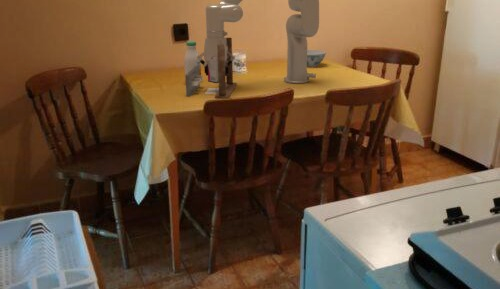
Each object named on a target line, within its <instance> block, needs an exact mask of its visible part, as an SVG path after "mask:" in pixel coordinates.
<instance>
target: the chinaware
mask: <svg viewBox="0 0 500 289" xmlns="http://www.w3.org/2000/svg"><path fill="white" fill-rule="evenodd" d="M325 57H326V51H325V50H319V49H318V50H317V49H307V66H308V67H307V68H316V67H319V66H318V65H319V64H321V63H322V62H323V61H324V59H325Z"/></svg>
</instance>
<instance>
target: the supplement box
mask: <svg viewBox="0 0 500 289" xmlns="http://www.w3.org/2000/svg"><path fill="white" fill-rule="evenodd" d="M207 82H209V83H213V84H219V81H218V57H212V58H211V61H209V62H208V75H207Z"/></svg>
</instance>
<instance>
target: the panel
mask: <svg viewBox="0 0 500 289" xmlns="http://www.w3.org/2000/svg"><path fill="white" fill-rule="evenodd" d="M184 79H186V81H185V90H186V97H187V98H188V97H191V96H192V95H193V94H194V93H195V92H196V91H197V89H198V88H199V87H200V86H201V82H202V81H203V80H204V75H201V76H199V66H195V67H194V68H193V69H192V70H191V71H190V72H188V73H187V74H186V75H185V74H184Z"/></svg>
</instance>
